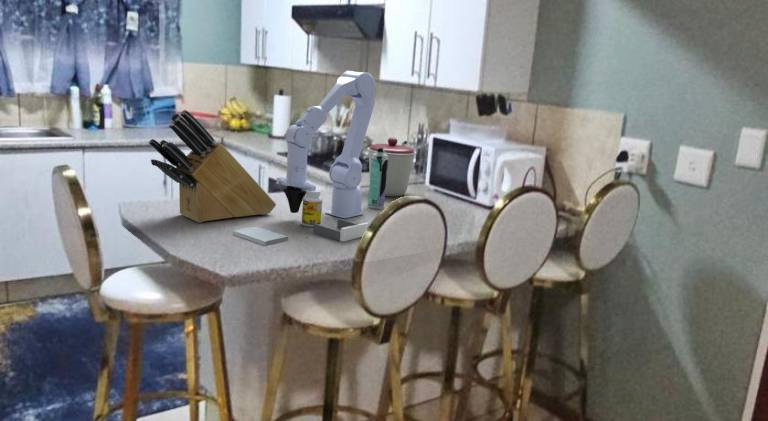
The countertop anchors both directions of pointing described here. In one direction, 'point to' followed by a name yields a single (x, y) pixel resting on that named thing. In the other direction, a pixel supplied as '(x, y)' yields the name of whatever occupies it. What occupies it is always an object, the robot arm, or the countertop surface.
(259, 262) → the countertop surface
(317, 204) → the supplement bottle
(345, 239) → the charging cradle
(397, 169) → the canister
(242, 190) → the knife block
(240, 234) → the hard drive
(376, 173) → the spray can
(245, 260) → the countertop surface
